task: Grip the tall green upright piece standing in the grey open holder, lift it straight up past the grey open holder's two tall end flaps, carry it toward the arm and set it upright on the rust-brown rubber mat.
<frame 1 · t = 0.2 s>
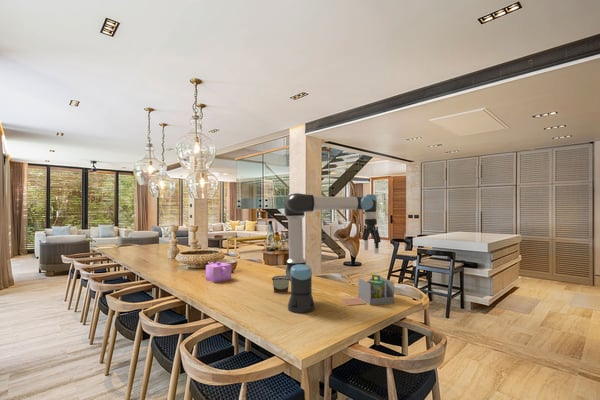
hand: (371, 251, 190), 28 cm above the table, tool pointing down, fingers open, 13 cm apart
mat: (353, 301, 177), on the table
green upright piece: (375, 300, 180), resting in grey open holder
grey open holder: (375, 299, 180), on the table
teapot: (218, 279, 235), on the table
food container: (281, 291, 201), on the table
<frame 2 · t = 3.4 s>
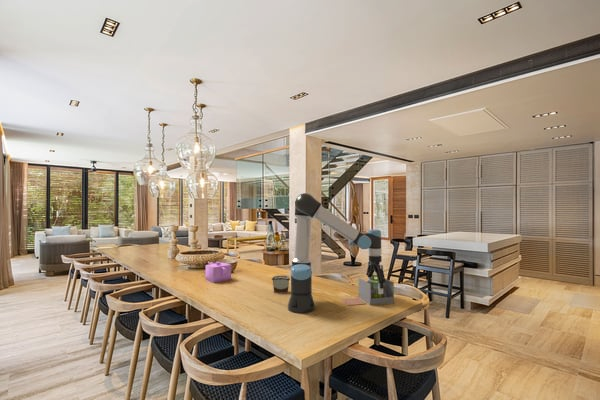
hand: (375, 290, 181), 6 cm above the table, tool pointing down, fingers closed on green upright piece, 12 cm apart
green upright piece: (375, 300, 180), resting in grey open holder, touching gripper
everything else where it was.
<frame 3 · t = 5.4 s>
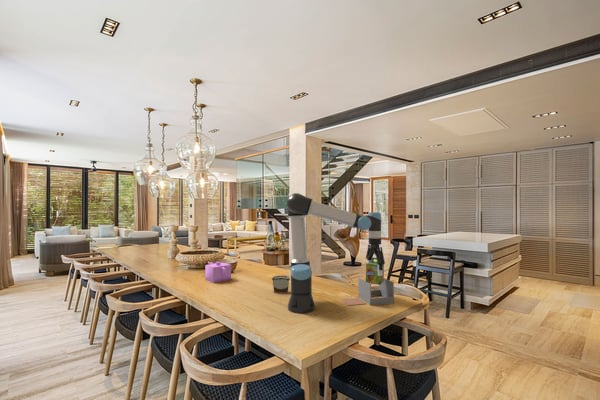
hand: (374, 273, 181), 16 cm above the table, tool pointing down, fingers closed on green upright piece, 12 cm apart
green upright piece: (374, 282, 181), point 10 cm above the table, touching gripper
everything else where it was.
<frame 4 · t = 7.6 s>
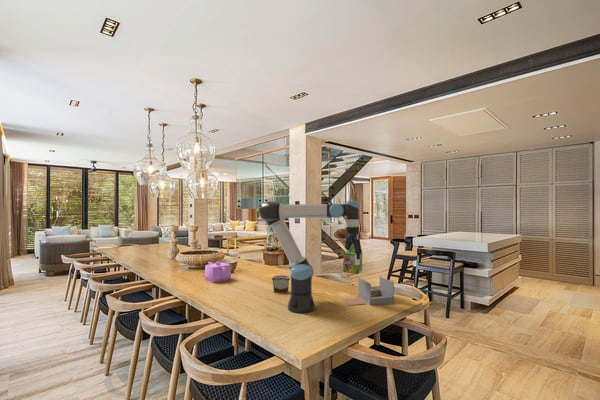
hand: (352, 262, 178), 23 cm above the table, tool pointing down, fingers closed on green upright piece, 12 cm apart
green upright piece: (353, 272, 177), point 18 cm above the table, touching gripper
everything else where it was.
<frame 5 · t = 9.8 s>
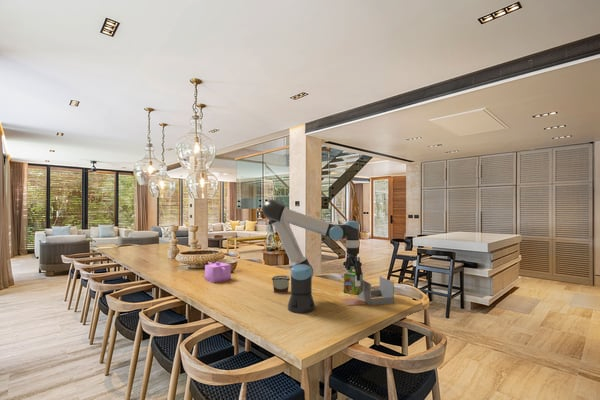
hand: (353, 283, 177), 11 cm above the table, tool pointing down, fingers closed on green upright piece, 12 cm apart
green upright piece: (353, 292, 177), point 5 cm above the table, touching gripper
everything else where it was.
when the fingers open (7 cm above the table, at t = 11.7 s): green upright piece drops 1 cm, resting on mat.
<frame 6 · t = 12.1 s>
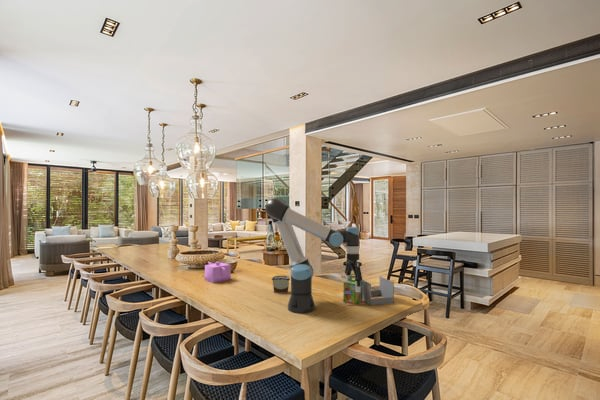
hand: (353, 288, 177), 8 cm above the table, tool pointing down, fingers open, 13 cm apart
green upright piece: (353, 301, 177), resting on mat
everything else where it was.
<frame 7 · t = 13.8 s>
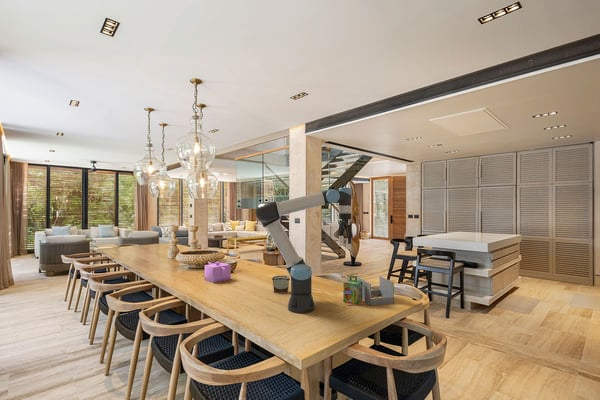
hand: (345, 247, 182), 32 cm above the table, tool pointing down, fingers open, 13 cm apart
nothing on the table moved.
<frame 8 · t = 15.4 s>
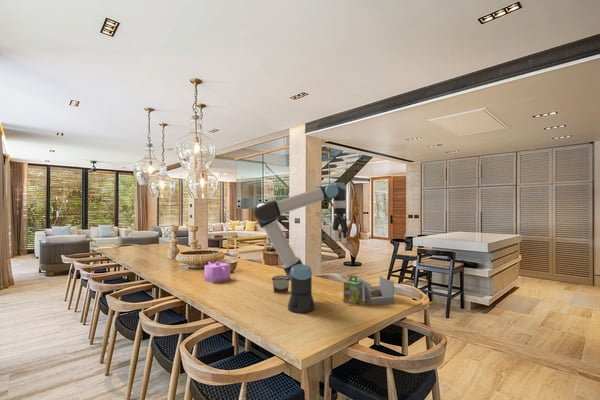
hand: (340, 241, 185), 35 cm above the table, tool pointing down, fingers open, 13 cm apart
nothing on the table moved.
at the end: green upright piece 0.1 cm off-centre on the mat, point 0.2 cm above the mat's base; green upright piece tilted 0°; green upright piece touching mat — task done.
